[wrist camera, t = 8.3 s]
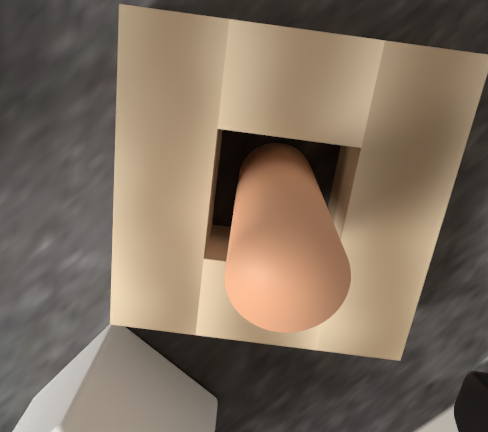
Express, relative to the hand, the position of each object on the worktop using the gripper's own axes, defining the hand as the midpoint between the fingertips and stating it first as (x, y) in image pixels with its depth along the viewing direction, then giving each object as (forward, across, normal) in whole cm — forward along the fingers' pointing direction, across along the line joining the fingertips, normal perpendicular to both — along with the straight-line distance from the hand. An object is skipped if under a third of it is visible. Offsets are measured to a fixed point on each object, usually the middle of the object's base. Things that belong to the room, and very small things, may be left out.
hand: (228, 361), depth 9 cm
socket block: (+12, -1, 0) cm, 12 cm away
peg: (+12, -1, 0) cm, 12 cm away
